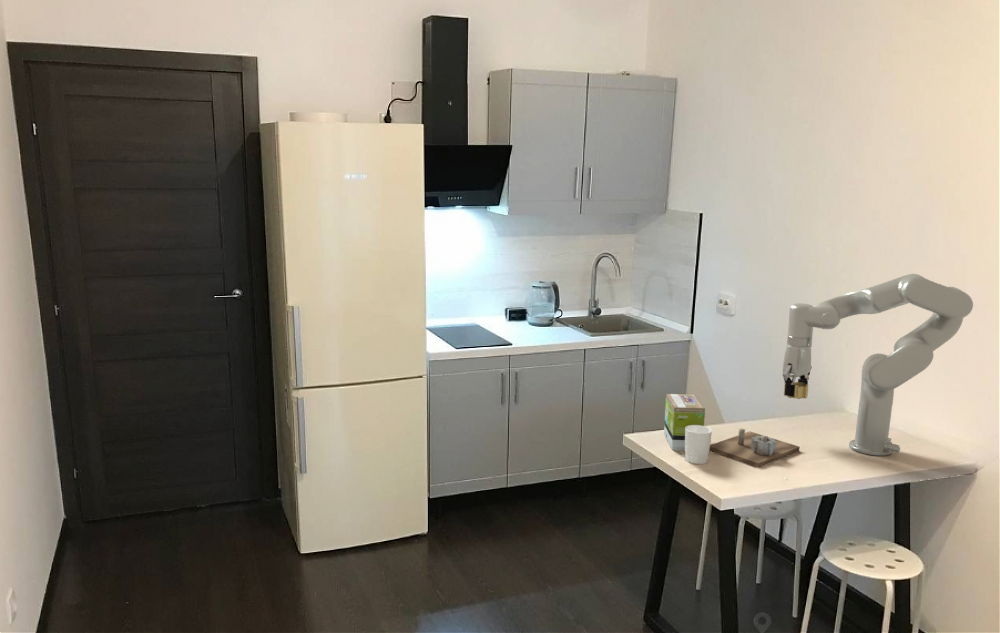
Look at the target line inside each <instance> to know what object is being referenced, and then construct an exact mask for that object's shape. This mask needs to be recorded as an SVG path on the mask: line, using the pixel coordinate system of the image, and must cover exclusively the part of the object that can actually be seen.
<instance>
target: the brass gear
mask: <svg viewBox="0 0 1000 633" xmlns="http://www.w3.org/2000/svg"><path fill="white" fill-rule="evenodd" d="M794 385H795V393H794V397H791V396H787V395H785V394H784V393H785V383H784V386H783V396H784V397H787V398H788V399H797V400H801V399H807V398H808V395H809V394H808V393H809V384H805V383H803V382H798V381H795V382H794Z"/></svg>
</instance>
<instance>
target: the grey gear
mask: <svg viewBox="0 0 1000 633" xmlns="http://www.w3.org/2000/svg"><path fill="white" fill-rule="evenodd" d="M766 436H767V441H761V436H758V435H757V436H756V437H752V440H751V450H752V452H753V453H757V454H760V455H762V456H763V455H768V456H772V455H773V454H776V445H777V441H775V439H776V438H774V437H769V436H768V435H766Z"/></svg>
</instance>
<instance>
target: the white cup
mask: <svg viewBox="0 0 1000 633" xmlns="http://www.w3.org/2000/svg"><path fill="white" fill-rule="evenodd" d="M712 432H713V431H712V429H711V428H710V427H708V426H706V425H704V426H700V425H689V426H686V427H685V451H684V458H685V459H684V460H685V461H686V462H688V463H691V464H695V465H703V464H706V463H708V462H709V461H708V459H709V453H710V451H709V449H710V445H711V441H712V440H711V439H712Z"/></svg>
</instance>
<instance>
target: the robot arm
mask: <svg viewBox="0 0 1000 633" xmlns="http://www.w3.org/2000/svg"><path fill="white" fill-rule="evenodd" d="M907 304H911V305H912V306H913V305H914V306H916V307H918V308H921V309H923V310H926V311H928V312H932V314H931V316H930V317H928V318H927V319H926V320H925V321H924V322H923V323H922V324H919V326H917V327H915V328H914V329H913V330H911V331H909V332H908V333H907V334H905V335H903V336H902V337H900V338H899V339H897V340H896V341H895V343H894V346H893V352H891V353H889V354H888V355H887V354H885V353H874V354H871V355H869V356H867V358H866V359H865V360H864V361H863V364H862V367H861V368H862V369H861V383H860V384H861V386H860V392H859V393H860V395H859V403H858V411H857V419H856V426H855V427H856V428H855V435H854V436H855V437H854V439H852V440H849V442H848V447H849V448H851V449H852V450H853V451H855V452H857V453H860V454H865V455H869V456H870V455H871V456H877V457H880V456H882V457H884V456H889V455H891V454H892V452H894V453H899V454H900V452H901V447H900V445H899V444H895V443H893V442H892V438H891V437H889V435H890V434H889V432H890V426H891V418H892V410H893V404H894V395H895V394H894V393H895V389H896V388H898V387H900V386H902V385H903V384H905V383H907V382H908V381H909V380H912V378H914V377H916V376H917V375H918V374H920V373H922V372H924V371H925V370H926V369H927V368H928V367H929V366H930V365H931V363H932V362H933V360H934V351H936V350H937V349H939V348H940V347H941V346H943V345H945V343H947V342H948V341H950V340H951V339H952V338H953V337H954V336H955V335H956V334H957V333H958V331H959V330H960V328H961V326H962V324H963V321H964V318H966V317H968V316H969V315H970V314H971V313H972V310H973V308H974V302H973V299H972V297H971V296H970V295H969V294H968V293H966V292H965V291H964V290H962V289H959V288H958V287H954V286H946V285H943V284H941V283H937V282H935V281H933V280H930V279H928V278H925V277H924V276H922V275H920V274H917V273H910V274H906V275H902V276H900V277H897V278H893V279H890V280H888V281H885V282H882V283H879V284H876V285H873V286H871V287H867V288H863V289H860V290H856V291H852V292H849V293H845V294H842V295H841V294H840V295H839V296H835V297H832V298H831V299H827V300H824V301H822V302H820V303H818V304H817V305H816V306H813V305H812V304H808V303H799V302H797V303H793V304H791V305H790V307H789V311H788V312H789V314H788V325H787V341H786V342H787V343H786V347H785V352H784V357H783V364H782V377H783V382H784V384H785V393H784V392H783V395H784V394H785V395H787V396H791V397H794V393H795V385H794V382H796V379H797V378H798V377H799V378H798V379H797V382H803V383H805V384H808V383H809V380H810V375H811V370H812V369H813V367H812V346H813V331H814V328H817V329H821V330H832V329H835V328H836V327H838V326H839V325H840V324H841V323H840V322H841V320H843V319H845V318H849V317H853V316H858V315H875V314H880V313H883V312H887V311H889V310H892V309H895V308H897V307H900V306H904V305H907ZM808 385H809V384H808ZM787 396H786V397H787Z"/></svg>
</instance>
